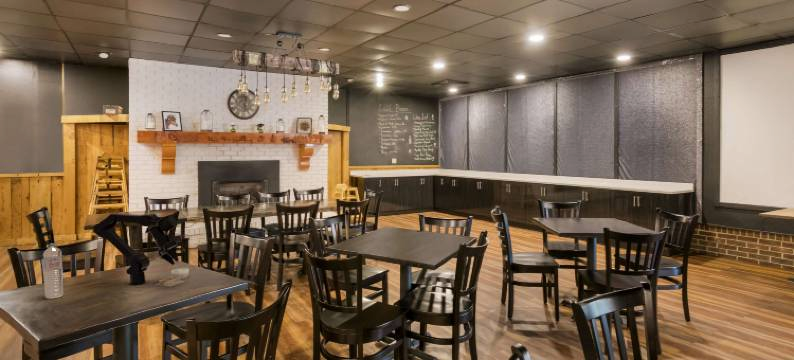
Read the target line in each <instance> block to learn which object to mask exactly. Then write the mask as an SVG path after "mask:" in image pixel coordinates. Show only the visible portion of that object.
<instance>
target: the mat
mask: <svg viewBox="0 0 794 360" xmlns="http://www.w3.org/2000/svg"><path fill="white" fill-rule="evenodd" d="M184 282H185V280H181V281H180V282H177V283H174V284H172V285H169V286H168V285H160V284H159V282H157V283H155V284H154V285H155V286H161V287H173V286H176V285H179V284H182V283H184Z"/></svg>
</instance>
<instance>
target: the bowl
mask: <svg viewBox="0 0 794 360" xmlns="http://www.w3.org/2000/svg"><path fill="white" fill-rule="evenodd" d="M170 272H171V276H173V277H181V280H183V279H187V278H188V277H189V275H190V274H189V273H190V269H189V268H188V267H179V268H173V269H171V270H170Z"/></svg>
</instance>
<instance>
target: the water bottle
mask: <svg viewBox="0 0 794 360" xmlns="http://www.w3.org/2000/svg"><path fill="white" fill-rule="evenodd" d="M42 257H43V280H44V281H43V282H44V283H43V284H44V285H43V286H44V298H45V299H46V300H53V299H58V298H61V297H63V296H64V283H63V282H64V280H63V279H64V278H63V276H64V275H63V264H62V263H63V262H62V261H63V259H62V250H61V249H60V248H59V247H56V246H55V242H54V243H53V242H51V243H49V247H48V248H46V250H44V252H43V254H42Z"/></svg>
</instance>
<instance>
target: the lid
mask: <svg viewBox="0 0 794 360" xmlns="http://www.w3.org/2000/svg"><path fill="white" fill-rule="evenodd" d="M180 281H182V279H181V277H173V276H172V275H171V276H168V277H165V278H163V279H160V280H158V283H159V284H160V285H159V286H162V285H168V286H167V287H170V286H169V285H172V284H174V283H177V282H180Z"/></svg>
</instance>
